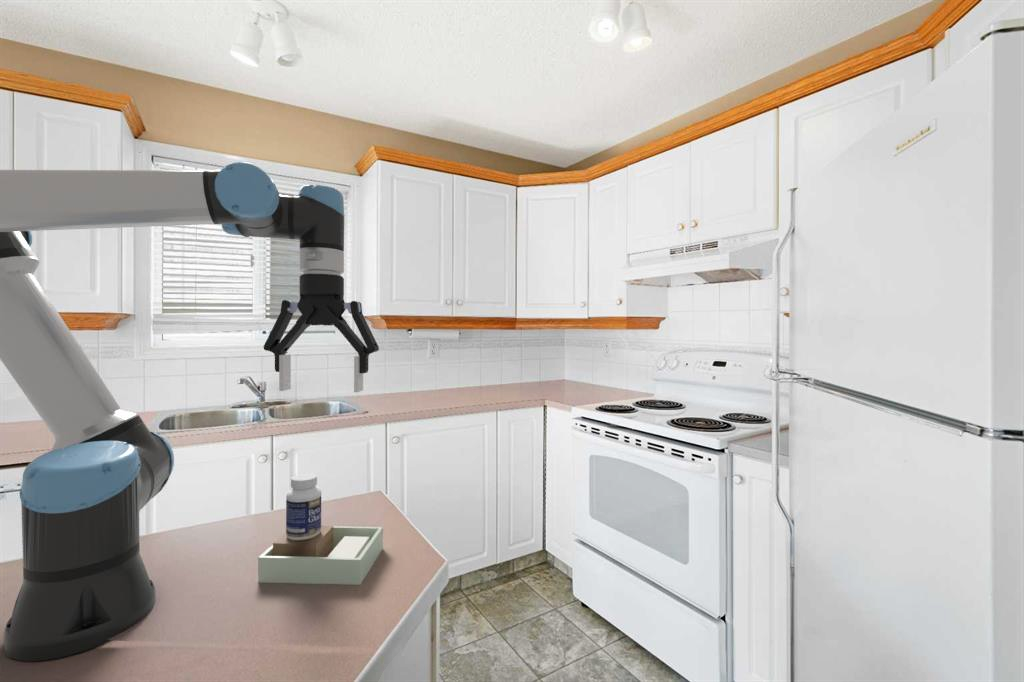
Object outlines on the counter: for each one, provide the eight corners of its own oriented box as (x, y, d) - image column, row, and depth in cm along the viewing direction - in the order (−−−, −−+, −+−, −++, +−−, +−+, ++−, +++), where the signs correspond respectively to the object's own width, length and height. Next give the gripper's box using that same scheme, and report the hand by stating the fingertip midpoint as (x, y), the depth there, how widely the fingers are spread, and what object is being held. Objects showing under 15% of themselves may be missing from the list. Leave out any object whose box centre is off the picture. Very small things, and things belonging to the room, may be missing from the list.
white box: (325, 576, 76) (325, 558, 76) (344, 553, 84) (344, 536, 84) (353, 577, 76) (353, 559, 76) (369, 553, 84) (369, 536, 84)
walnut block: (272, 573, 76) (272, 543, 76) (293, 553, 83) (293, 525, 83) (316, 575, 76) (316, 544, 76) (333, 554, 83) (333, 526, 83)
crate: (258, 585, 74) (258, 557, 74) (294, 549, 86) (294, 525, 86) (360, 588, 74) (360, 559, 73) (382, 551, 86) (382, 527, 85)
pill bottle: (313, 542, 77) (313, 482, 77) (279, 541, 77) (279, 481, 77) (326, 527, 82) (326, 472, 82) (295, 527, 82) (295, 471, 82)
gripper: (242, 271, 83) (242, 392, 83) (384, 272, 82) (383, 394, 83) (265, 275, 90) (265, 386, 91) (395, 277, 90) (394, 389, 90)
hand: (321, 390), depth 87 cm, fingers open, 13 cm apart
